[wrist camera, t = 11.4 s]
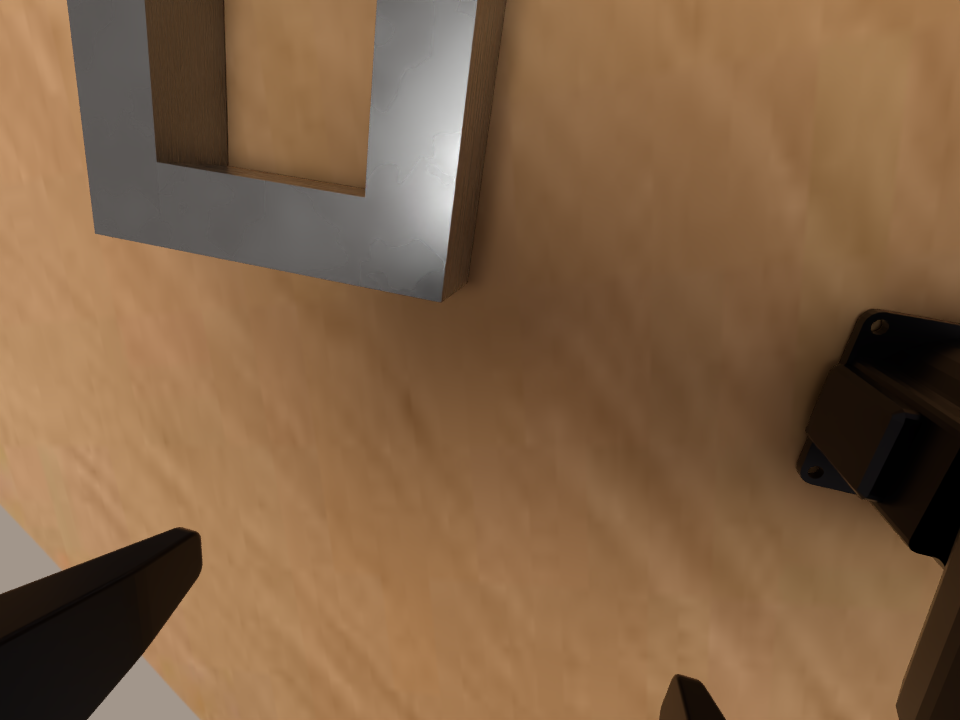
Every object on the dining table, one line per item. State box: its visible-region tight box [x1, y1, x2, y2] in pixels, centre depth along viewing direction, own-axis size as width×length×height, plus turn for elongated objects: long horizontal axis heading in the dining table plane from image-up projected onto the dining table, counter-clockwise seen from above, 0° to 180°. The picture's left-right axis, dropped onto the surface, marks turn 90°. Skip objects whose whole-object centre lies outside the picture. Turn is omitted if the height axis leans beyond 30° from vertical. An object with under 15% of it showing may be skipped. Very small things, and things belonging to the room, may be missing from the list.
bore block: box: [67, 0, 506, 302], centre depth 17 cm, size 13×13×4 cm
